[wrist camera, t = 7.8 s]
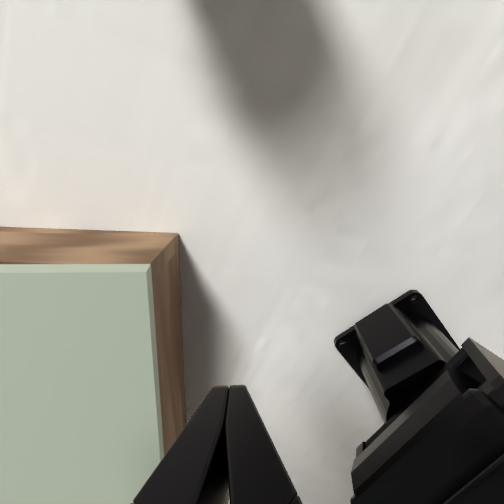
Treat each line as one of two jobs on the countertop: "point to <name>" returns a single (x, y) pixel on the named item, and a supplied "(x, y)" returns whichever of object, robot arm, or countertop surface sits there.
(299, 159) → the countertop surface
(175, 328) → the walnut box
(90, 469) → the lid
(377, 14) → the countertop surface
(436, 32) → the countertop surface
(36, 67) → the countertop surface
